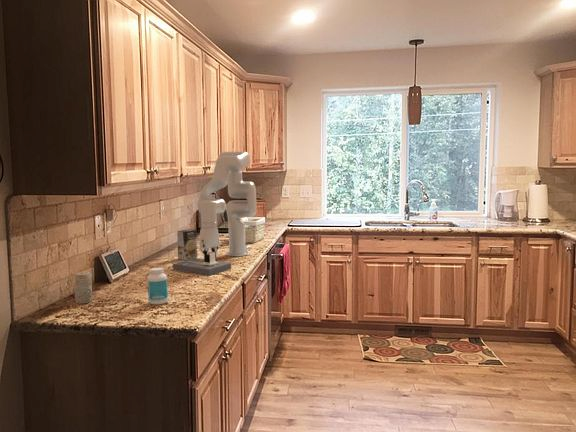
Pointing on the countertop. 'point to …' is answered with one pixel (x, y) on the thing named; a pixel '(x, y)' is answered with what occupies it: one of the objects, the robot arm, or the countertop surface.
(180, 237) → the coffee box
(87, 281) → the grey cylinder
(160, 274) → the pill bottle
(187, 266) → the console
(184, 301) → the countertop surface
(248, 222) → the storage basket
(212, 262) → the fader
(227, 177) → the robot arm
